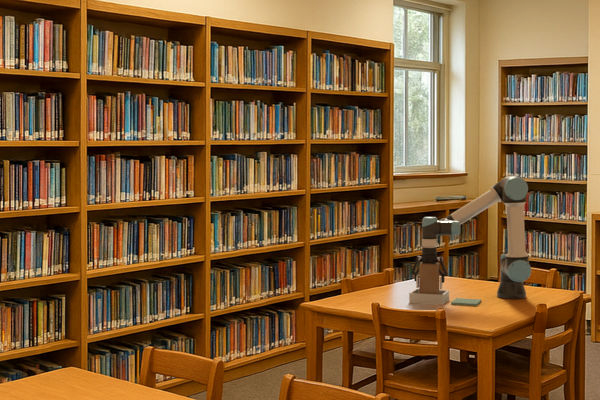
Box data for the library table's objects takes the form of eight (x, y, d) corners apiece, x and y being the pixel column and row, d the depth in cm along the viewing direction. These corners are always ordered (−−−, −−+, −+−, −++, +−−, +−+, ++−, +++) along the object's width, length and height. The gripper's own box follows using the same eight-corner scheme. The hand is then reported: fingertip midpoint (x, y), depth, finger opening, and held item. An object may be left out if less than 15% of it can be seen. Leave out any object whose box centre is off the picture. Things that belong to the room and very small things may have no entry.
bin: (449, 299, 436) (449, 290, 435) (443, 304, 422) (443, 295, 422) (416, 297, 442) (416, 288, 442) (409, 302, 429) (409, 293, 428)
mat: (481, 301, 429) (481, 299, 429) (476, 306, 417) (476, 303, 417) (456, 300, 434) (456, 298, 434) (451, 304, 422) (451, 302, 422)
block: (438, 303, 426) (438, 264, 425) (419, 302, 428) (419, 264, 427) (439, 299, 436) (439, 262, 435) (420, 299, 438) (420, 261, 437)
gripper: (453, 246, 429) (453, 288, 431) (408, 245, 438) (408, 285, 440) (450, 248, 422) (450, 290, 424) (405, 246, 431) (405, 288, 433)
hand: (429, 288), depth 432 cm, fingers open, 12 cm apart
